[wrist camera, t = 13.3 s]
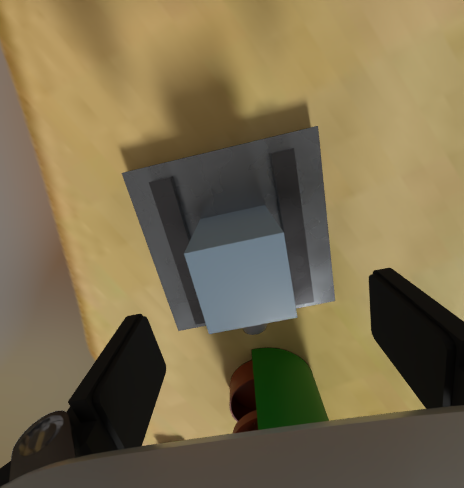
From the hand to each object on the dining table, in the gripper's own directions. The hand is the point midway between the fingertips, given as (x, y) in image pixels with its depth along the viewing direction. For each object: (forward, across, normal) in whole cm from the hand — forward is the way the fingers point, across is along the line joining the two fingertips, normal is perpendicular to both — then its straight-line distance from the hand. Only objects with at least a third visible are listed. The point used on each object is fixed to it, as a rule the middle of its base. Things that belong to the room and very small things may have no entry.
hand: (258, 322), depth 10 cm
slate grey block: (+10, +1, 0) cm, 10 cm away
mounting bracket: (+11, +1, 0) cm, 11 cm away
